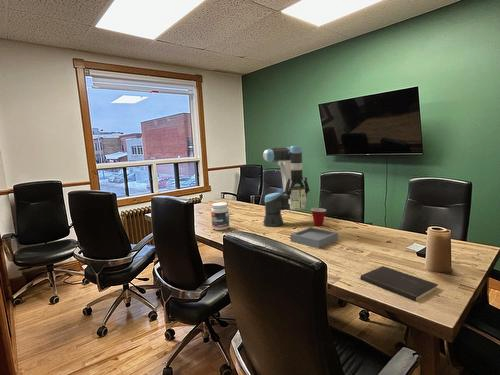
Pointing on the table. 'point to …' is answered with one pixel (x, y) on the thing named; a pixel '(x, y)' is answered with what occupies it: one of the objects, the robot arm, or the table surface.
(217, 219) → the supplement tub
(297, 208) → the coffee can
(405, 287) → the hardcover book
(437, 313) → the table surface
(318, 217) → the plastic cup
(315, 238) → the grey square tray
